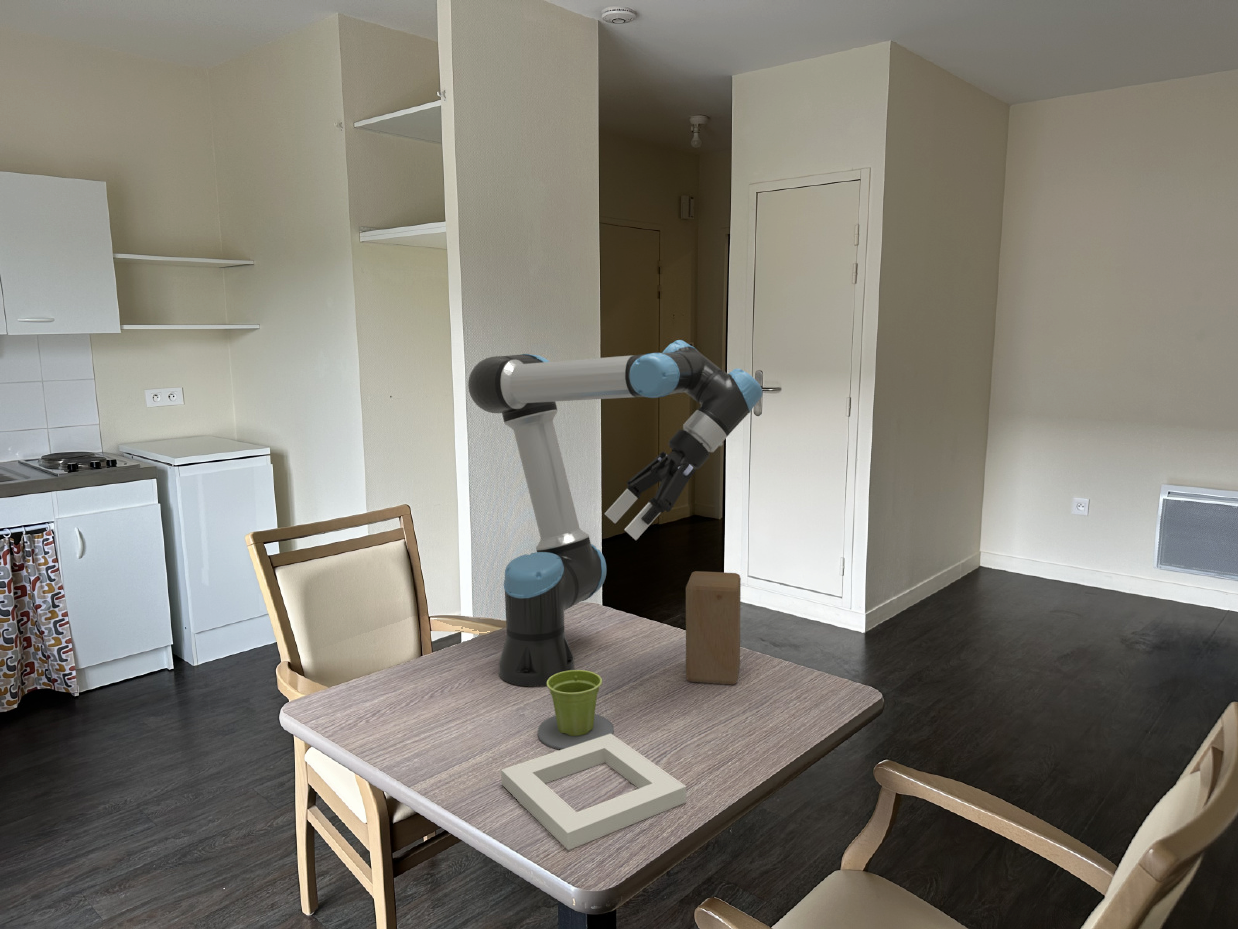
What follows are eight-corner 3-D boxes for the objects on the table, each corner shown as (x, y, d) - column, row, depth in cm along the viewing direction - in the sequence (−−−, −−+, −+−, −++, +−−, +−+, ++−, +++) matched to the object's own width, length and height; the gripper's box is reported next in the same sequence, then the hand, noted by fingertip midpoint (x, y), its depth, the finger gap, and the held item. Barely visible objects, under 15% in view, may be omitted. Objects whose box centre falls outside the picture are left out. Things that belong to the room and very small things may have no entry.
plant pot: (609, 736, 142) (608, 688, 141) (554, 745, 140) (552, 696, 138) (595, 713, 151) (594, 667, 150) (543, 720, 148) (541, 674, 147)
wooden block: (737, 686, 163) (737, 586, 159) (685, 683, 165) (685, 584, 161) (740, 666, 172) (740, 571, 169) (691, 663, 174) (691, 569, 171)
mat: (524, 728, 147) (524, 725, 147) (588, 708, 154) (588, 705, 154) (562, 759, 136) (562, 755, 136) (628, 736, 143) (628, 733, 143)
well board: (501, 785, 129) (501, 769, 128) (611, 747, 140) (610, 733, 139) (568, 850, 112) (567, 833, 112) (686, 802, 123) (686, 786, 123)
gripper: (736, 464, 145) (654, 556, 144) (686, 445, 169) (615, 524, 167) (708, 435, 143) (624, 528, 141) (660, 420, 167) (588, 500, 165)
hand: (619, 526), depth 154 cm, fingers open, 13 cm apart
